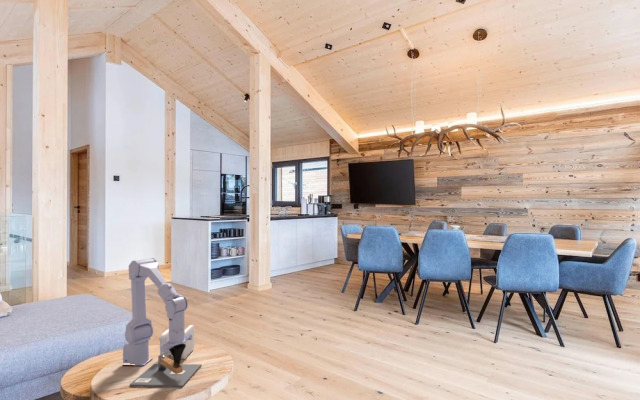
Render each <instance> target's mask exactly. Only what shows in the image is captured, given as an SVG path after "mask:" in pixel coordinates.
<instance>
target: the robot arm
mask: <svg viewBox="0 0 640 400" xmlns="http://www.w3.org/2000/svg"><path fill="white" fill-rule="evenodd" d="M159 268H160V264H159V262H158V261H157V259H156V258H154V257H151V258H146V259H139V260H137V259H136V260H135V259H134V260H131V262H130V263H129V265H128V279H129V280H130V285H131V287H130V289H131V310H132V311H131V312H132V313H131V315H132V319H131V320H129V322H127V323H126V325H125V331H124V339H125V341H126V342H125V343H124V345H123V348H122V364H123V363H130V364H135V365H144V366H146V365H147V364H148V363H147V361H148V360H149V357H150V356H149V355H150V354H149V353H150V352H149V351H150V350H149V349H150V348H149V345H150V340H151V337H152V336H153V334H154V327H153V324H152V319H150V318H148V317H147V307H146V284H145V283H146V282H145V281H146V280H147V278H149V279H150V280H151V282H152V283H153V284H154V285H155V286H156V287H157V288H158V290H157V294H158V296H159V297H160V298H161V299H162V301H163V302H164V304H165V305H164V309H165V311H166V316H167V319H168V329H169V341H167V342H166V343H165V344H164V345H162V346H160V345H159V352H160V351H161V352H166V350H168V349H169V350H170V352H171V354H172V356H171V357H172V360H173V361H174V362H176V363H177V364H181V360H182V359H181V356H182V353H183V351H184V349H185V347H186V345H185V344H184V343H186V341H187V340H191V339H192V334H187V335H185V329H186V328H185V311H186V310H187V309H188V300H187V297H186V296H184V295H182V294H179V293H178V291H177V290H176V288H174V286H173V285H172V283H170V282H169V283H167V282H166V280H165V278H164V277H163V275H162V273H161V271H160V270H159ZM146 363H147V364H146ZM145 364H146V365H145Z"/></svg>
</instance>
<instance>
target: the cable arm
mask: <svg viewBox="0 0 640 400" xmlns="http://www.w3.org/2000/svg"><path fill="white" fill-rule="evenodd" d="M157 358H158V359H157V360H158V363H157V364H158V370H159V371H163V370H166V369H167V368H168V369H169V370H171V371H172V372H174V373H175V374H178V373H181V372H182V366H181V365H179V364H177V363H176V362H174V359H171V358H170V357H166V355H165V354H163V355H160V354H159V355H158V357H157Z"/></svg>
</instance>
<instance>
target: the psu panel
mask: <svg viewBox="0 0 640 400" xmlns="http://www.w3.org/2000/svg"><path fill="white" fill-rule="evenodd" d="M179 365H181V366H182V372H181V373H178V374H175V373H174V372H172V371H171V370H169V369H168V368H167V369H166V370H163V371H159V370H158V363H153V364H152V365H151V366H150V367H149V368H148V369H146V370H145V371H144V372H143V373H141V374H140V375H139V376H138V377H136V378H135V379H134V380H133V381H132V382H131V383H129V387H130V386H131V387H134V388H136V387H137V388H138V387H139V388H140V387H141V388H183V389H184V387H185V386H186V384H188V382H189V381H190V380H191V379H192V378H193V376H194V375H195V374H196V373H197V372H198V371H199V370H200V369H201V368H202V364H193V363H192V364H191V363H189V364H188V363H186V364H185V363H180V364H179ZM131 387H130V388H131Z"/></svg>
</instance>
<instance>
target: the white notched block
mask: <svg viewBox="0 0 640 400" xmlns="http://www.w3.org/2000/svg"><path fill="white" fill-rule="evenodd" d="M187 334H192V339H191V340H187V341H186V343H184V344H185V345H186V347H185V349H184V351H183V353H182V356H181V360H182V359H183V360H186V359H187V357H189V355H190V354H191V353H192V352H193V351H194V348H195V341H196V340H195V339H196V338H195V325H194V324H190V325H188V326H187V328H185V335H187ZM167 341H169V328H167V329H166V330H164V332H162V333H161V335H160V336H159V347H160V346H162V345H164V344H165V343H166V342H167ZM163 354H165V355H166V357H168V358H170V357H173V356H172V354H171V352H170V350H169V349H168V350H166V352H161V351H160V350H159V355H163Z"/></svg>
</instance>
